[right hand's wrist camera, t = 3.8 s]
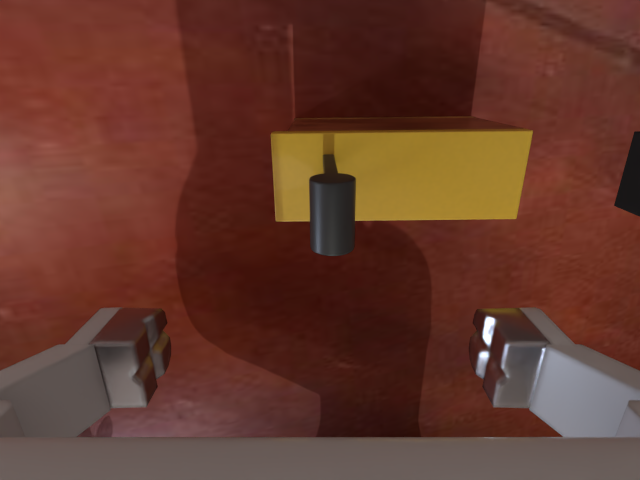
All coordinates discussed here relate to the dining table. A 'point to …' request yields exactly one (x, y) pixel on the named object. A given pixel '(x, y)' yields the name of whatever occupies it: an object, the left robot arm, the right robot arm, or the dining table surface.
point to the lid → (394, 178)
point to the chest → (395, 123)
